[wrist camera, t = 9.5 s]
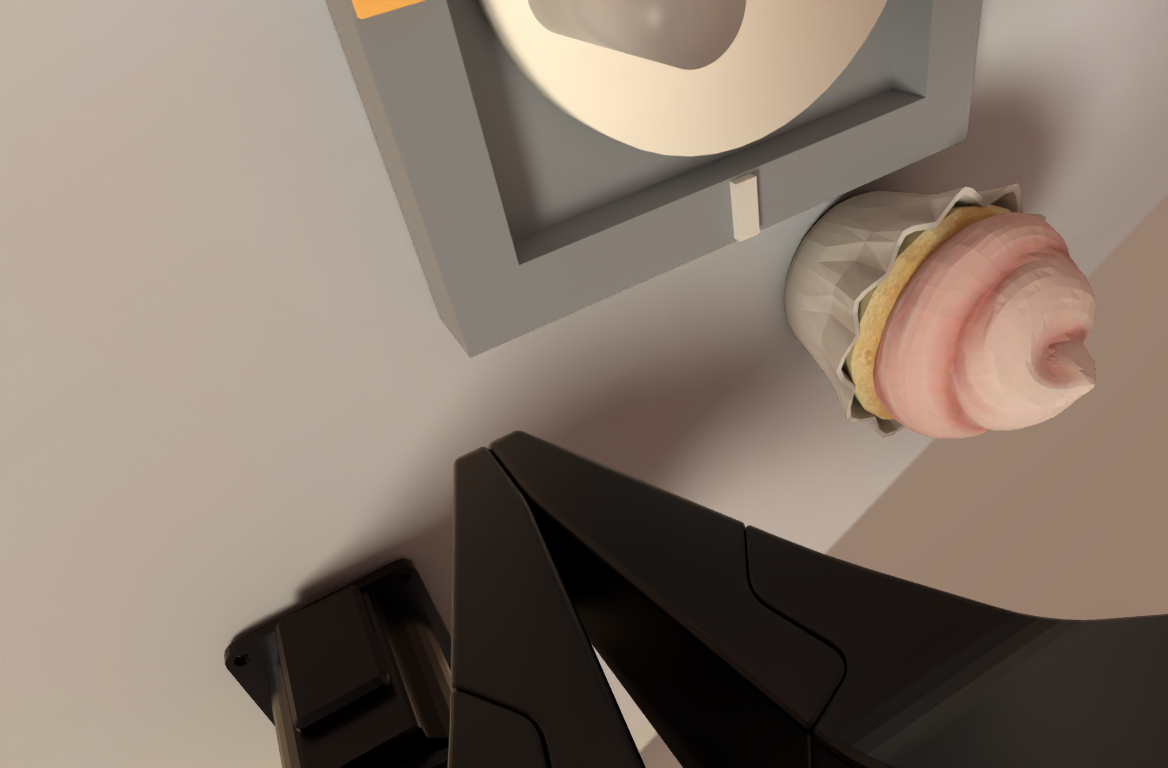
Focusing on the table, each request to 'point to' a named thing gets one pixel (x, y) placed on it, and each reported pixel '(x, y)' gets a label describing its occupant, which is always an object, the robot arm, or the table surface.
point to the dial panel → (616, 159)
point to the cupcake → (943, 312)
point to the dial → (681, 63)
